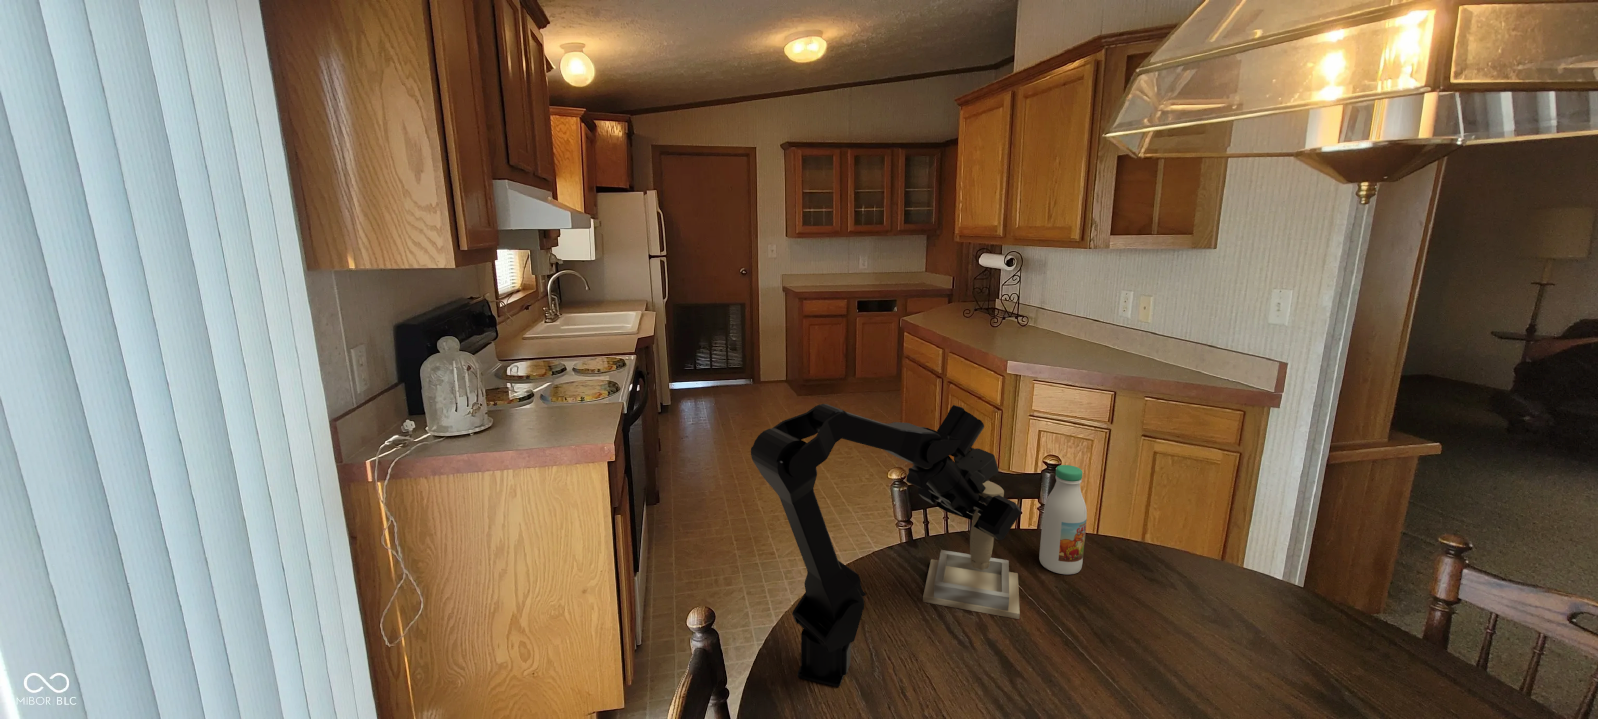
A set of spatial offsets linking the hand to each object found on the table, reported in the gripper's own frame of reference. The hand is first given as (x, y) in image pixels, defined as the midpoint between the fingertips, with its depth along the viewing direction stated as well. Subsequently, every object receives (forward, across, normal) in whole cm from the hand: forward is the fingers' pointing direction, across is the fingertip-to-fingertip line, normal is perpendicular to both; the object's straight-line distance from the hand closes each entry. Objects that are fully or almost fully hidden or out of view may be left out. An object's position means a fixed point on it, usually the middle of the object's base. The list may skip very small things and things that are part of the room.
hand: (988, 524), depth 107 cm
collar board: (+9, +2, +10) cm, 14 cm away
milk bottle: (+24, -1, -5) cm, 24 cm away
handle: (+5, 0, +6) cm, 8 cm away
